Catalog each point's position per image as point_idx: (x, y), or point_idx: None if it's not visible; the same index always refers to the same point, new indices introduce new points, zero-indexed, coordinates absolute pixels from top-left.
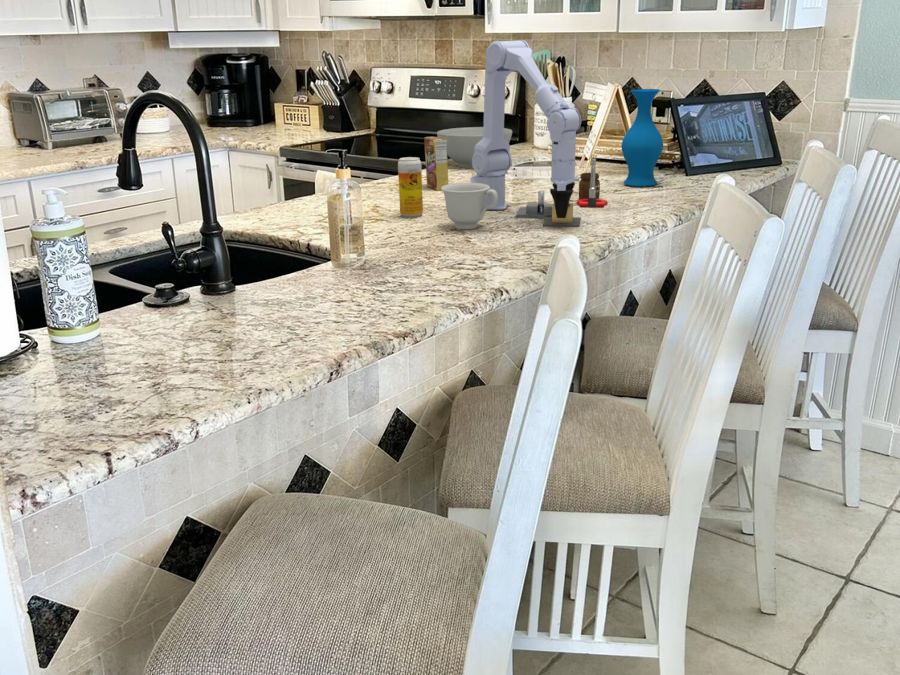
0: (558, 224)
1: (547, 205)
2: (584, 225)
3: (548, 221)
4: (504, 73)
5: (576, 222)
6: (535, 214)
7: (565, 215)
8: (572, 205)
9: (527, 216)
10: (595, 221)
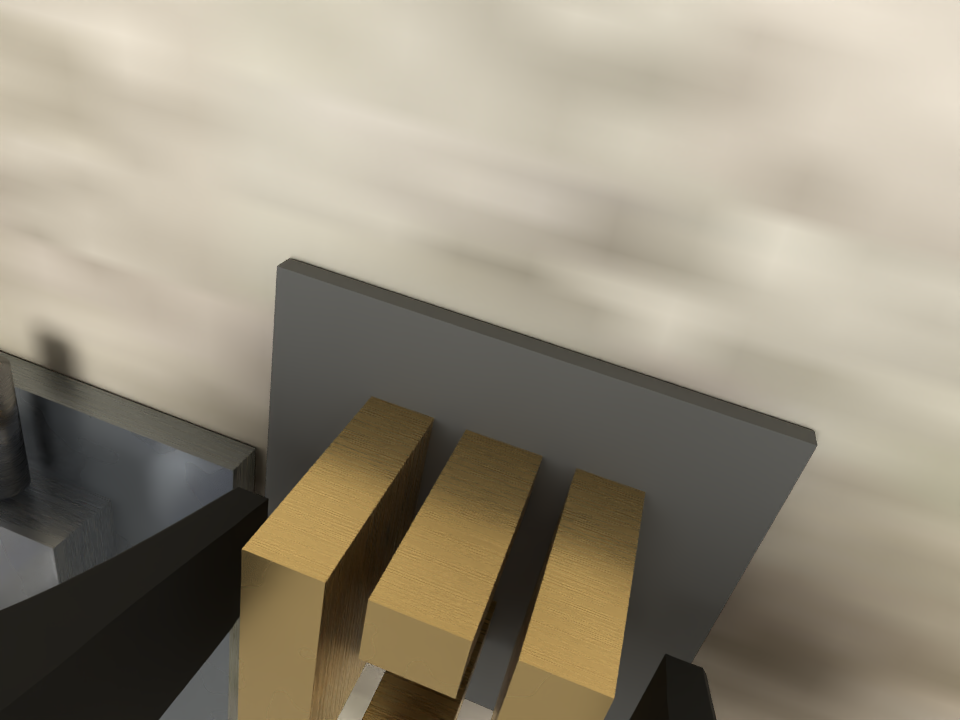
0: (674, 651)
1: (11, 593)
2: (733, 330)
3: (481, 669)
4: None
5: (611, 426)
6: (210, 676)
7: (713, 709)
8: (442, 634)
9: (237, 715)
10: (469, 67)
